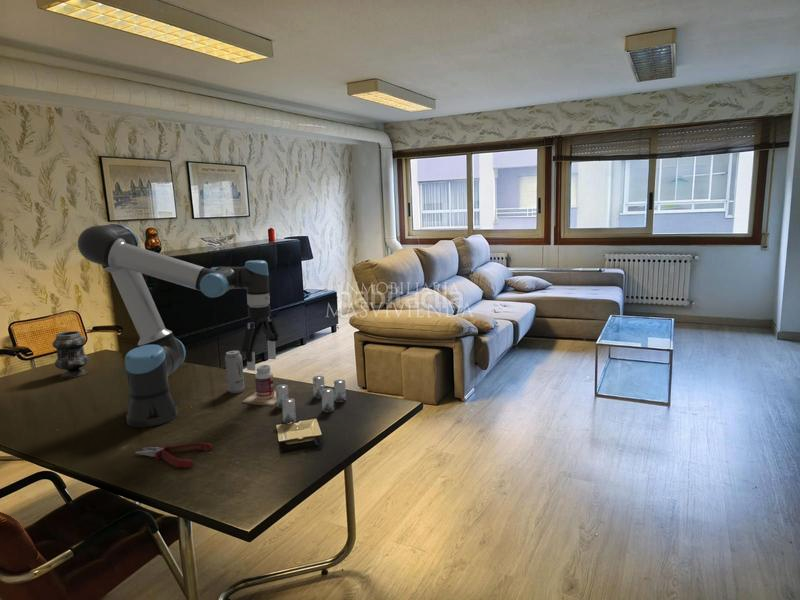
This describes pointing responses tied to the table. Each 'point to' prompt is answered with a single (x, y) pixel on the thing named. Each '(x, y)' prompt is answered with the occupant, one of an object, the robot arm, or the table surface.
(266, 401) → the coaster
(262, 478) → the table surface
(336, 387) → the grey cylinder
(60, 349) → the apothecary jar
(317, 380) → the cylinder
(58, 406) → the table surface
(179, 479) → the table surface
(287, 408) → the spacer near
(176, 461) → the pliers
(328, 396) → the cylinder
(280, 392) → the cylinder
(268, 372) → the pill bottle
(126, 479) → the table surface
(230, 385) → the energy drink can
